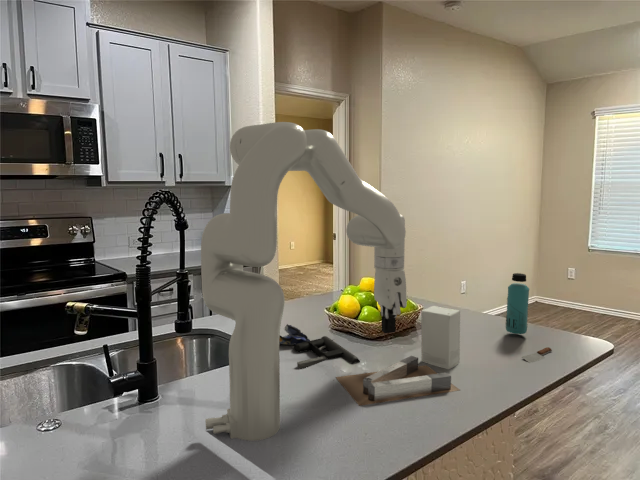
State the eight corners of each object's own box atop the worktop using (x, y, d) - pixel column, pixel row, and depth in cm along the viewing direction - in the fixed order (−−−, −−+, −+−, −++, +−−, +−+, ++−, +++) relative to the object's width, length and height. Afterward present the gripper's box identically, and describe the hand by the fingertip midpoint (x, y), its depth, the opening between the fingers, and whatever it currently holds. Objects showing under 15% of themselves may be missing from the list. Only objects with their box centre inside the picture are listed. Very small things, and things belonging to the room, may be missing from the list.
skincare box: (460, 368, 123) (462, 310, 121) (447, 375, 119) (450, 315, 117) (431, 359, 129) (433, 304, 127) (418, 366, 124) (420, 309, 122)
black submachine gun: (308, 369, 117) (364, 356, 124) (280, 344, 135) (330, 333, 141) (309, 382, 117) (364, 367, 124) (280, 355, 135) (330, 343, 142)
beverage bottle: (528, 334, 150) (532, 273, 148) (524, 340, 145) (529, 276, 142) (506, 330, 154) (510, 270, 151) (502, 336, 148) (506, 274, 146)
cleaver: (535, 363, 126) (519, 353, 130) (533, 368, 126) (517, 358, 130) (563, 354, 133) (548, 345, 137) (562, 359, 133) (546, 350, 137)
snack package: (277, 336, 149) (264, 348, 137) (280, 316, 148) (268, 327, 136) (313, 345, 146) (303, 358, 135) (317, 326, 145) (307, 337, 134)
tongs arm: (368, 395, 104) (368, 382, 104) (361, 392, 105) (361, 379, 105) (418, 369, 118) (418, 357, 118) (410, 367, 120) (411, 355, 119)
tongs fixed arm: (370, 401, 101) (370, 387, 101) (366, 397, 103) (366, 383, 103) (450, 389, 108) (451, 375, 107) (445, 385, 110) (446, 372, 109)
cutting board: (359, 412, 100) (359, 405, 100) (335, 383, 114) (335, 377, 114) (460, 396, 107) (460, 390, 107) (426, 370, 122) (426, 365, 121)
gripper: (417, 266, 113) (415, 339, 116) (389, 256, 127) (388, 321, 130) (388, 269, 111) (388, 343, 113) (363, 258, 125) (363, 324, 128)
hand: (388, 331), depth 122 cm, fingers closed
